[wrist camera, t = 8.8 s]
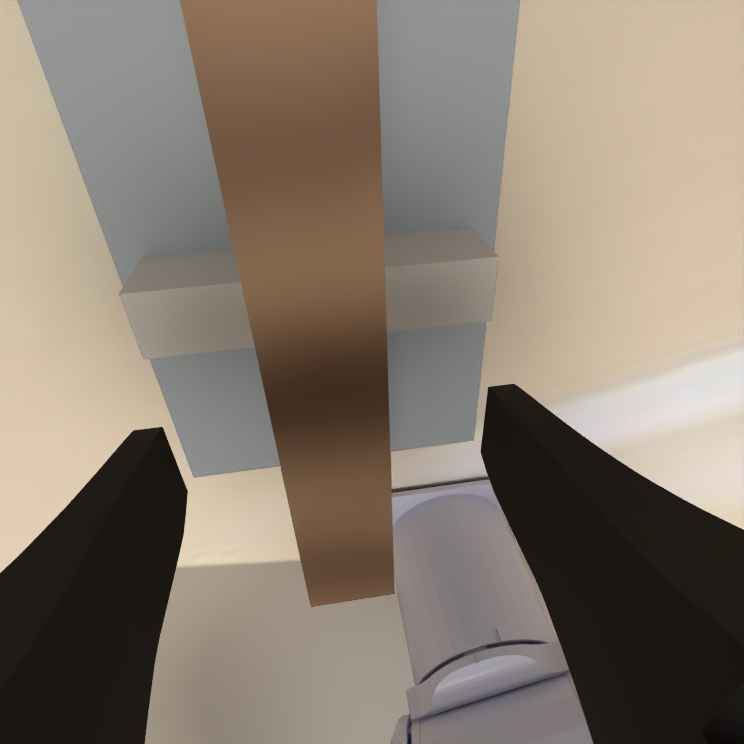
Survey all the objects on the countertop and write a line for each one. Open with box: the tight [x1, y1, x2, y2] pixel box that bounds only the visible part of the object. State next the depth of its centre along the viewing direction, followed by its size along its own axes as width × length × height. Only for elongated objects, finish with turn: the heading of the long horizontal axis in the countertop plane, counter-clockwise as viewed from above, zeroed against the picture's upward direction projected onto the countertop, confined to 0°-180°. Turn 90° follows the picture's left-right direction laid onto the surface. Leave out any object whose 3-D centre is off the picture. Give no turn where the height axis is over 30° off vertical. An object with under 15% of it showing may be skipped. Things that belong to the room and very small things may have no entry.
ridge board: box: [17, 0, 520, 477], centre depth 18 cm, size 20×14×4 cm
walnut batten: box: [180, 0, 395, 607], centre depth 14 cm, size 18×3×5 cm, turn 3°
